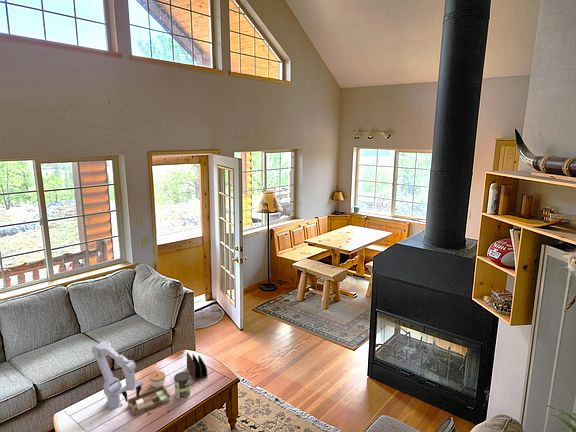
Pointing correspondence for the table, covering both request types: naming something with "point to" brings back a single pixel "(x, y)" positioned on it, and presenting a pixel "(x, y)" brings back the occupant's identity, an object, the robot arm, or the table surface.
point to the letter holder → (196, 367)
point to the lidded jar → (157, 379)
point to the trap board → (149, 399)
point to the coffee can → (182, 385)
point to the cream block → (139, 403)
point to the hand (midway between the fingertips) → (132, 398)
